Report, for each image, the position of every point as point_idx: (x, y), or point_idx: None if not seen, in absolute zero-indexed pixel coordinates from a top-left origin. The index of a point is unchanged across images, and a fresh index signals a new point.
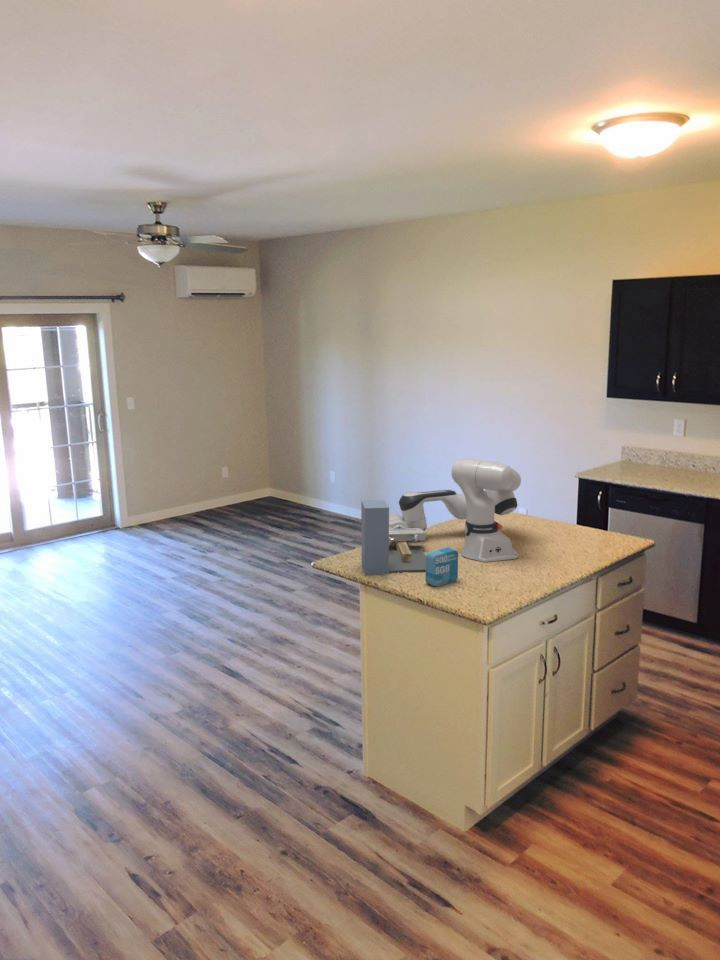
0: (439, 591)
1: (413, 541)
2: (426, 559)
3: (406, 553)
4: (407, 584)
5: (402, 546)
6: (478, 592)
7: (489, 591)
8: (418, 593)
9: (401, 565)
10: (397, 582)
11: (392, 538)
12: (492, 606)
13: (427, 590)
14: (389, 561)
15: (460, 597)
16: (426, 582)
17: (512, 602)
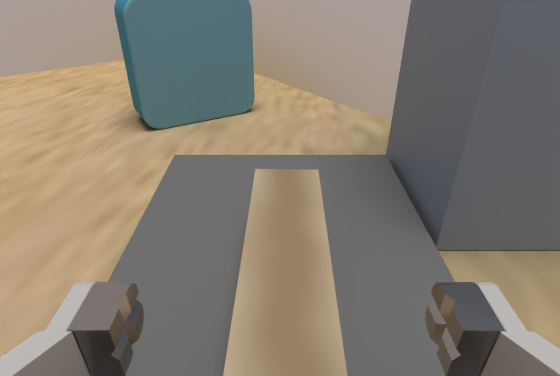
0: None
1: (136, 310)
2: (250, 18)
3: (289, 174)
4: (313, 112)
5: (299, 309)
6: None
7: (100, 86)
8: (289, 88)
9: (325, 191)
10: (346, 121)
11: (457, 293)
12: None
13: (261, 93)
14: (405, 241)
15: None
16: (251, 104)
17: (97, 65)
